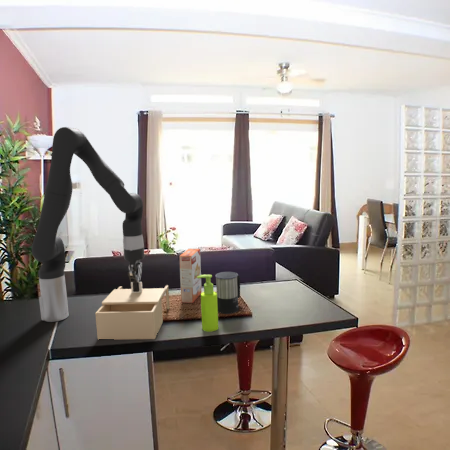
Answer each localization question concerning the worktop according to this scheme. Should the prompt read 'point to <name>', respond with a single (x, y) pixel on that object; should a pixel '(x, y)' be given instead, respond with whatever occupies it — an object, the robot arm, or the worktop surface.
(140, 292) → the wooden box lid
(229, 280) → the milk frother
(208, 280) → the soap dispenser
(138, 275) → the robot arm
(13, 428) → the worktop surface
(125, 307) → the open wooden box
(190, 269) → the cracker box
